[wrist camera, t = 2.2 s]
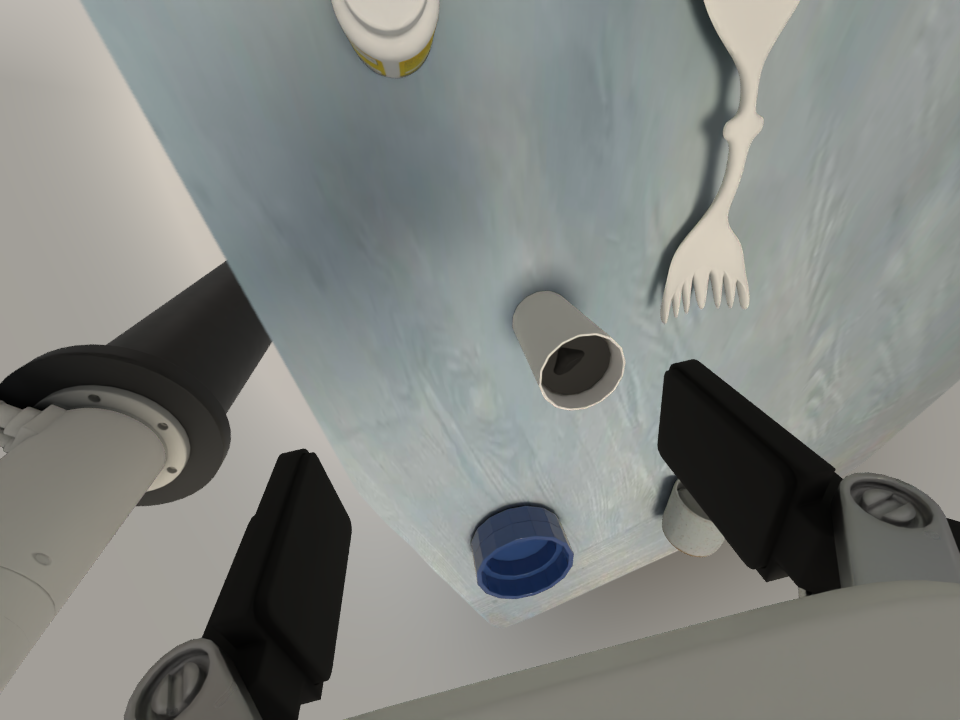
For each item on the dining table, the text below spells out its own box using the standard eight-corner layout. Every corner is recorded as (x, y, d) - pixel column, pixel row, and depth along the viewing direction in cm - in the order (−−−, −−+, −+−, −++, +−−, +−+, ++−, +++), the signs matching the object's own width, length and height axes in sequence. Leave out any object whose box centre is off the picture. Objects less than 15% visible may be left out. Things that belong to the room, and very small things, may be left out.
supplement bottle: (433, -23, 25) (448, -105, 16) (431, 83, 27) (444, 59, 19) (342, -37, 24) (308, -134, 15) (349, 74, 26) (323, 44, 18)
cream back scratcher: (643, 313, 39) (663, 327, 36) (700, -192, 23) (744, -240, 20) (727, 298, 40) (753, 311, 37) (839, -199, 24) (901, -247, 21)
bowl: (452, 546, 52) (456, 583, 48) (515, 489, 48) (526, 523, 44) (516, 572, 57) (525, 607, 53) (577, 522, 54) (592, 556, 50)
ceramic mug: (648, 518, 56) (682, 569, 49) (662, 477, 52) (700, 526, 45) (714, 507, 58) (755, 555, 51) (732, 466, 54) (779, 512, 47)
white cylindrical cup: (501, 347, 38) (529, 408, 30) (516, 281, 35) (552, 328, 27) (564, 353, 40) (608, 412, 31) (583, 290, 37) (638, 337, 28)
